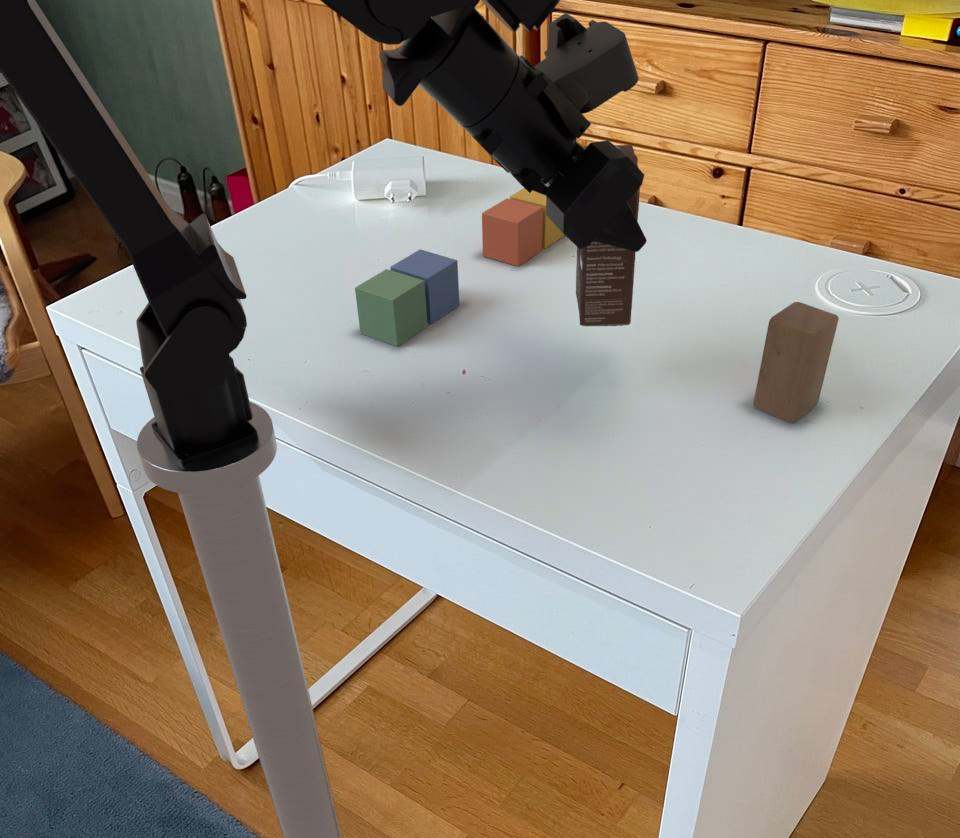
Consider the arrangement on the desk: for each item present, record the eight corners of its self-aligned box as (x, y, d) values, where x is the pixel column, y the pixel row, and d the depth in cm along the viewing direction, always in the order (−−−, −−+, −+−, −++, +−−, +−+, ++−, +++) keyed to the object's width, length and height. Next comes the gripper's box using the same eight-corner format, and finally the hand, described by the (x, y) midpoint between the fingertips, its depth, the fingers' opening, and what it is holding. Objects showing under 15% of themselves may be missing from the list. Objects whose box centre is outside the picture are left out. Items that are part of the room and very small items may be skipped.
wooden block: (750, 408, 81) (767, 316, 75) (777, 388, 83) (795, 298, 77) (793, 426, 79) (814, 333, 73) (819, 405, 81) (841, 314, 75)
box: (571, 294, 83) (579, 144, 75) (624, 294, 83) (638, 143, 75) (575, 328, 79) (583, 173, 71) (631, 328, 79) (646, 172, 71)
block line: (397, 346, 90) (393, 300, 86) (360, 333, 91) (354, 287, 88) (568, 233, 106) (569, 190, 102) (533, 224, 108) (533, 182, 104)
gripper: (628, 17, 58) (761, 186, 68) (521, -46, 70) (646, 104, 80) (501, 174, 62) (645, 312, 72) (422, 88, 74) (553, 215, 84)
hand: (623, 228), depth 77 cm, fingers closed on box, 7 cm apart
